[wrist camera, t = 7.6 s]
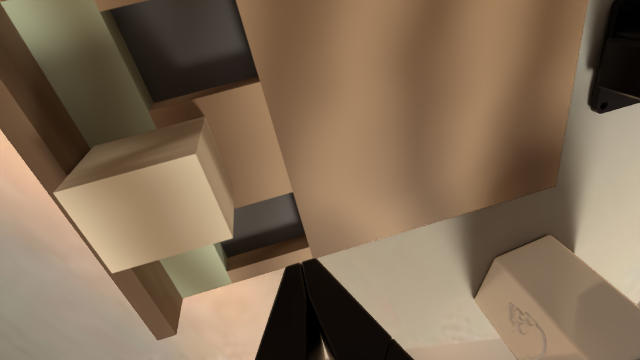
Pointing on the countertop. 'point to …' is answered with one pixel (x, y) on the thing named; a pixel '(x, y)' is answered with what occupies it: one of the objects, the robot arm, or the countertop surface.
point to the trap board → (298, 113)
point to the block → (151, 195)
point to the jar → (557, 306)
